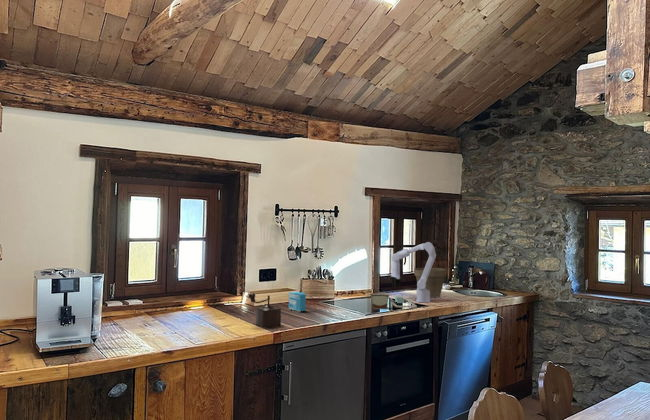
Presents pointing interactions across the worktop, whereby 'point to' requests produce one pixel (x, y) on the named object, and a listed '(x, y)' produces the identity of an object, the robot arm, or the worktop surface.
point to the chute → (402, 306)
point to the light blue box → (297, 301)
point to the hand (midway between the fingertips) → (395, 287)
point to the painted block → (399, 299)
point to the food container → (379, 300)
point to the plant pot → (432, 280)
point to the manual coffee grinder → (266, 313)
